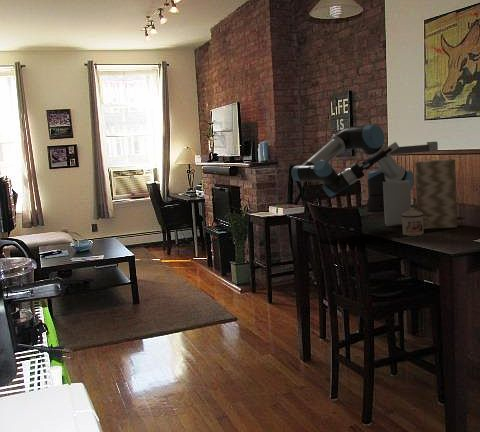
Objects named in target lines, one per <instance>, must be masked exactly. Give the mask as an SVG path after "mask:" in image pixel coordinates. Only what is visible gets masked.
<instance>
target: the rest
mask: <svg viewBox="0 0 480 432" xmlns="http://www.w3.org/2000/svg"><path fill="white" fill-rule="evenodd" d="M383 194H384V211H383V212H384V223H385V224H386V225H385V227H392V226H393V227H394V226H397V225H402V216H401V215H402V214H403V213H405V212H407V211H408V210H410V208H412V202H411V201H412V199H411V198H412V197H411V190H410V182H409V180H402V181H388V182H383Z"/></svg>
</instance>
